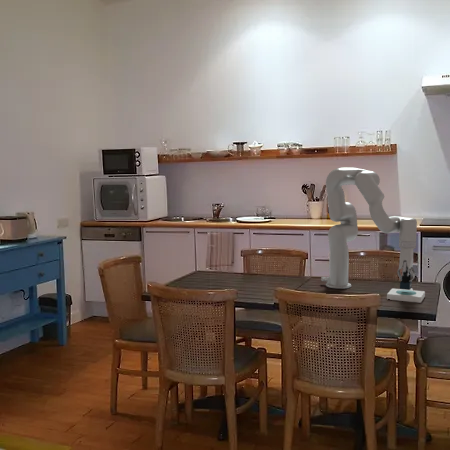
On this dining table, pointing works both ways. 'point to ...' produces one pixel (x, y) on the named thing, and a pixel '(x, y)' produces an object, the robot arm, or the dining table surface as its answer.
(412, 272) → the watch
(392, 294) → the charging dock
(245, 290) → the dining table surface
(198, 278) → the dining table surface
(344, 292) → the dining table surface
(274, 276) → the dining table surface
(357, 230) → the robot arm
